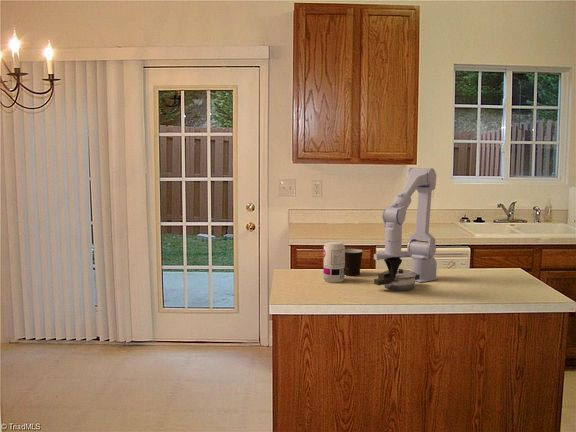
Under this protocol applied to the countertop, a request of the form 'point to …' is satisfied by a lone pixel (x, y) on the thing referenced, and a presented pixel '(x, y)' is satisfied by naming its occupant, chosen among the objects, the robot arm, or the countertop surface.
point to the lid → (397, 274)
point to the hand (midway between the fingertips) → (392, 278)
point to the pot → (398, 283)
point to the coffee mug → (353, 262)
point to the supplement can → (334, 262)
